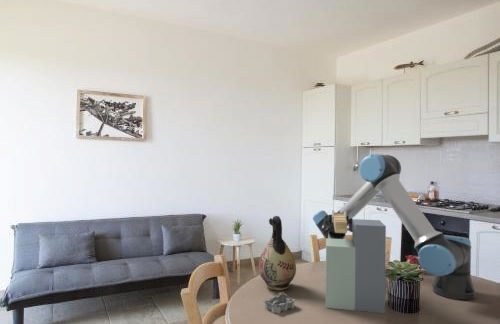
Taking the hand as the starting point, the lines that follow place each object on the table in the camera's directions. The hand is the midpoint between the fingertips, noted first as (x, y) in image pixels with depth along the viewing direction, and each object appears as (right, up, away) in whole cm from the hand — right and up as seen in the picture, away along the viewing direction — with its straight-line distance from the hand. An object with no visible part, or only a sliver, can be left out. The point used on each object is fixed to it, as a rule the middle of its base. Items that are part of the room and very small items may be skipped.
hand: (339, 213), depth 141 cm
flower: (+45, -33, +32) cm, 64 cm away
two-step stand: (+3, -32, -10) cm, 33 cm away
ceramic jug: (-24, -32, +6) cm, 40 cm away
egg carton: (-25, -32, -15) cm, 43 cm away
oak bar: (-1, -5, -4) cm, 6 cm away
